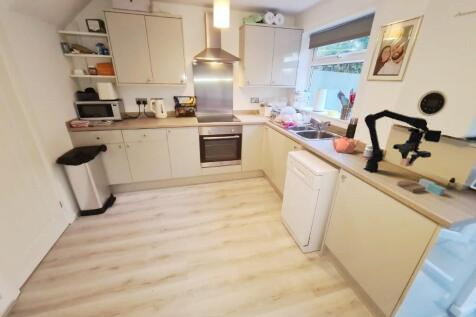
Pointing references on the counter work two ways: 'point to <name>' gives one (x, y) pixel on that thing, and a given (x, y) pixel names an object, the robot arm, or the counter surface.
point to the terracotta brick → (405, 162)
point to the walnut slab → (411, 186)
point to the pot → (344, 145)
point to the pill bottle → (368, 151)
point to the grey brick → (425, 182)
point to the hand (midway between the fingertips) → (406, 163)
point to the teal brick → (436, 189)
